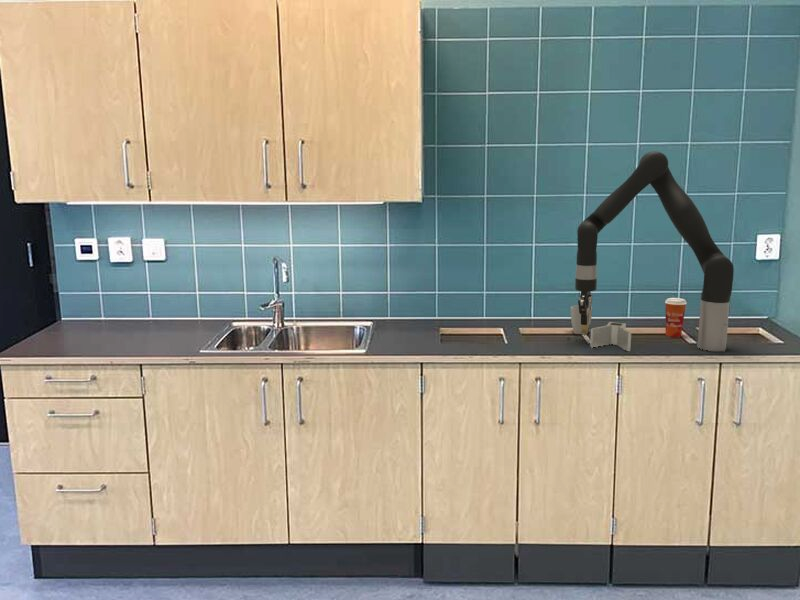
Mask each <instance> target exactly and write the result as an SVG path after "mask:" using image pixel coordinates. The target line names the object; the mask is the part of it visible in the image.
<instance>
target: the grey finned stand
mask: <svg viewBox="0 0 800 600" xmlns="http://www.w3.org/2000/svg"><path fill="white" fill-rule="evenodd" d="M626 327H627V323H625V322H613V321H609V322H608V323H607V324H606V325H602V326H597V327H593V328H590V340H589V341H590V342H589V348H590V347H591V348H590V349H594V348H593V347H596V348H599V347H598V346H601V347H604V346H603V345H606V346H609V344H610V345H611V344H613V345H614V346H618V347H619V348H621V349H622V350H624V351H625V350H626V351H630V352H631V346H632V345H631V344H632V331H630V330H628V329H626ZM613 345H612V346H613ZM626 351H625V352H626Z"/></svg>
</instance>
